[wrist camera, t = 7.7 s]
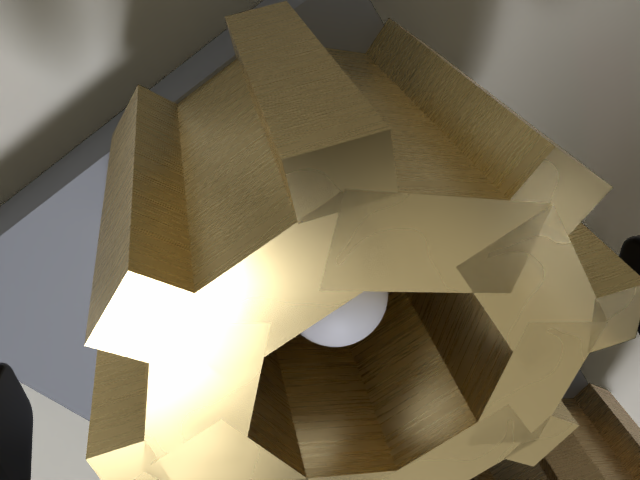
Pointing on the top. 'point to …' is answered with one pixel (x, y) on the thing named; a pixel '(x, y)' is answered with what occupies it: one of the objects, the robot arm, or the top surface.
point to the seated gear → (585, 445)
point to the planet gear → (340, 271)
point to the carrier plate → (84, 224)
